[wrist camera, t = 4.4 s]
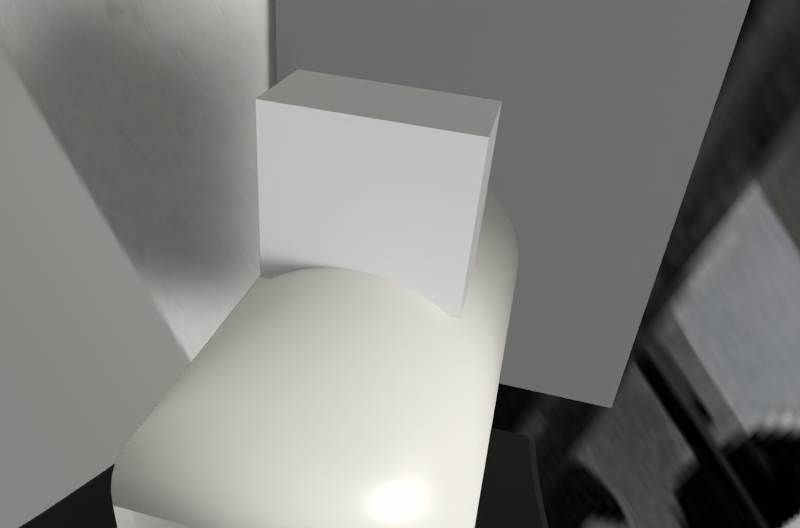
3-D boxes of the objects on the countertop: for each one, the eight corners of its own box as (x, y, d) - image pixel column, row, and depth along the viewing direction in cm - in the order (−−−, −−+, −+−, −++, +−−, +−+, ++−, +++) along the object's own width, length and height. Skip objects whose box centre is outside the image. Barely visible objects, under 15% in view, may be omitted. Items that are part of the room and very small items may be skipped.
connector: (457, 558, 13) (395, 895, 9) (308, 519, 13) (180, 820, 9) (562, 57, 8) (535, 276, 4) (317, 22, 8) (43, 181, 4)
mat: (611, 400, 19) (611, 408, 19) (283, 329, 21) (279, 334, 21) (747, -3, 13) (750, -1, 13) (279, -62, 15) (274, -60, 15)
